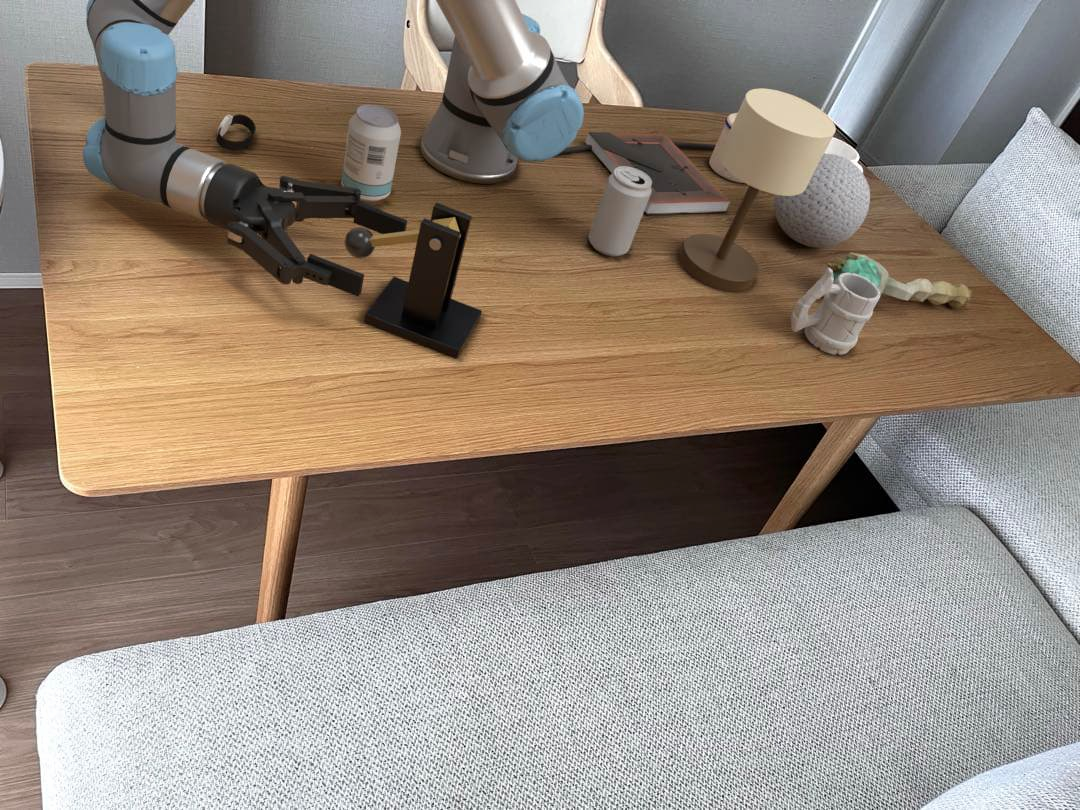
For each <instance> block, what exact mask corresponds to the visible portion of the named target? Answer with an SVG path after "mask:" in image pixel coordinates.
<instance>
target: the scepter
mask: <svg viewBox="0 0 1080 810" xmlns="http://www.w3.org/2000/svg"><path fill="white" fill-rule="evenodd" d="M826 265H827V268H830V269H832V271H833V277H834V282H835V281H836V279H837V278H838V276H839V275H840V274H842V273H851V274H852V273H855V274H858V275H860V276H862V277H864V278H866V279H868V280H870V281H871V282H872V283H873V284H874V285H875V286H876V287H877V289H878V291H879V292H880V296H887V297H893V298H896V299H899V300H903V301H909V300H910V301H913V302H919V303H920V302H921V303H924V302H925V300H926V299H927V301H929V302H930V303H931V304H932V305H934V306H940V305H942V304H948V305H949V306H950V307H952V308H961V307H962V306H964V305H965V304H967V303H968V302H969V301H971V296H972V292H973V291H972V290H971V289H970V288H968V287H967V286H966V285H965V284H964V283H954V284H952V283H950V282H947V281H944V280H937V281H933V282H931V281H930V280H929V279H928V278H922V277H919V278H917V279H915V280H912V281H908V282H906V283H902V282H900V281H898V280H896V279H894V278H892V277H890V275H889V271H888V270H887V269H886V268H885V267H884V266H883V265H882V264H881V263H879V262H878V261H876V260H874V259H873V258H871V257H869V256H867V255H865V254H859V253H856V252H848V253H847V254H846V256H845V259H844V258H842V257H838V256H836V257H835V258H834V260H833V262H828V263H827V264H826ZM834 282H833V284H834Z"/></svg>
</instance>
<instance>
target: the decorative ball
mask: <svg viewBox="0 0 1080 810" xmlns="http://www.w3.org/2000/svg"><path fill="white" fill-rule="evenodd" d="M773 201H774V202H773V209H774V214H775V217H776V220H777V222H778V224H779V226H780V228H781V229H782V230H783V232H784V233H785V234H786V235H787V236H788V237H789V238H790V239H792V240H793V241H794V242H796V243H798V244H801V245H803V246H805V247H810V248H828V247H833V246H835V245H838V244H841V243H843V242H844V241H846V240H848V239H849V238H851V237H852V236H853V235H854V234H855V233H856V232H857V231H858V230H859V229H860V228H861V226H862V225H863V223H864V221H865V219H866V217H867V215H868V212H869V208H870V205H871V190H870V186H869V183H868V181H867V178H866V176H865V175H864V172H863V173H862V172H861V170H860V169H859V168H858V167H857V166H856V165H855V164H854V163H852V162H851V161H849V160H848V159H846V158H843V157H841V156H838V155H833V154H823V156H822V158H821V160H820V162H819V164H818V166H817V168H816V170H815V172H814V174H813V175H812V177H811V179H810V181H809V183H808V185H807V187H806V189H805V190H804V192H802V193H801V194H799V195H794V196H782V195H776V194H774V200H773Z"/></svg>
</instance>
